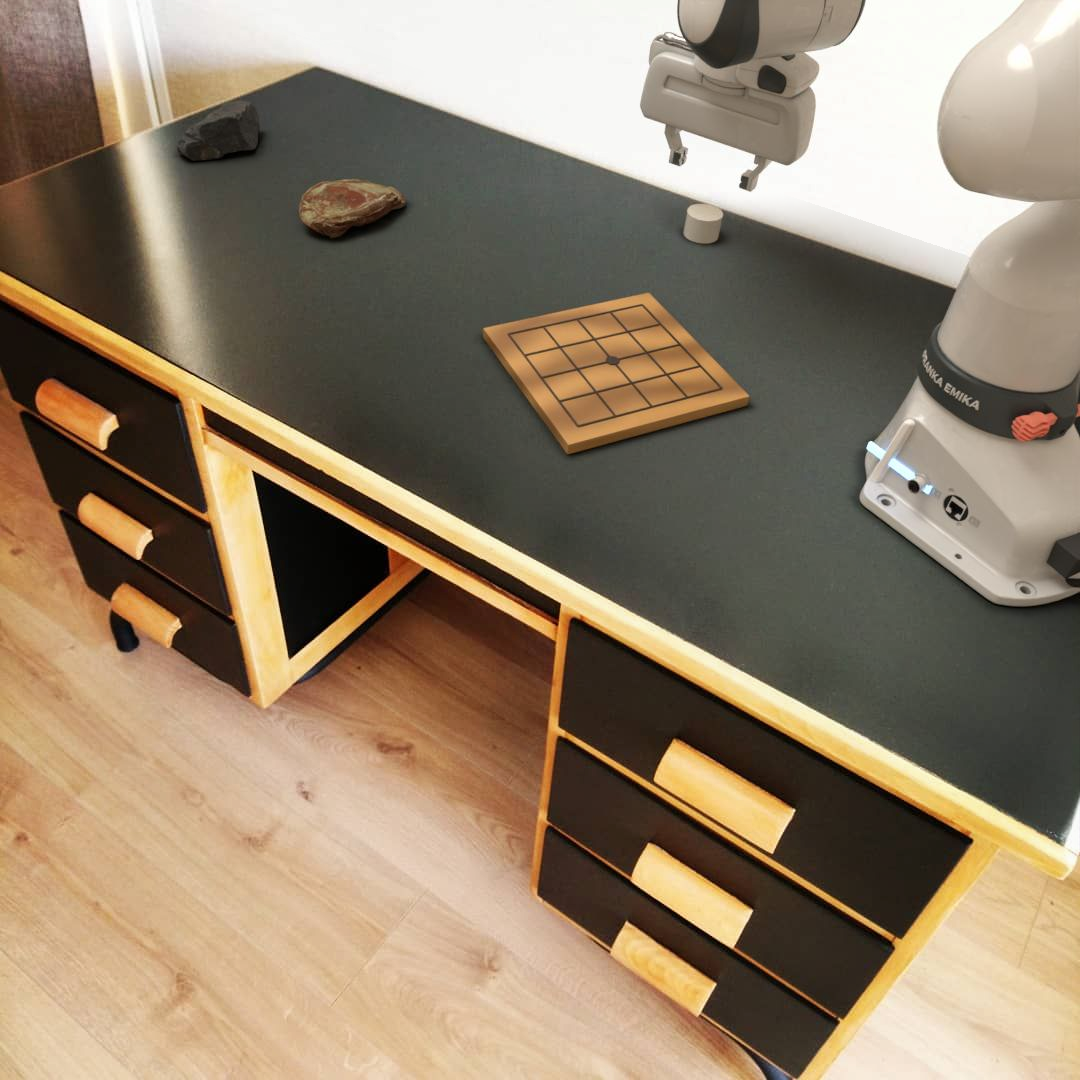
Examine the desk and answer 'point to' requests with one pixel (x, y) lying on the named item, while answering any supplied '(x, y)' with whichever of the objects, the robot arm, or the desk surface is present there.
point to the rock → (222, 132)
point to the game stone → (703, 223)
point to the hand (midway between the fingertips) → (711, 175)
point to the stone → (346, 205)
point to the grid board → (612, 371)
